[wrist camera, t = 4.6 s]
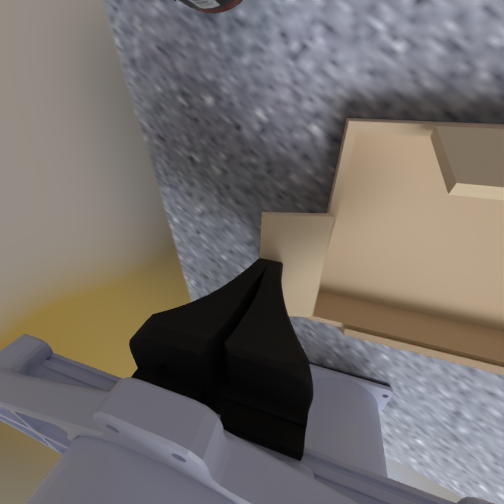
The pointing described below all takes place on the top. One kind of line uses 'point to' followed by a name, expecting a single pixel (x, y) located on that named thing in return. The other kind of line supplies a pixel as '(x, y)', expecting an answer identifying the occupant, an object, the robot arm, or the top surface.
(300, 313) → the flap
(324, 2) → the top surface
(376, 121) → the carton
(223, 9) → the supplement bottle
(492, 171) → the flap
